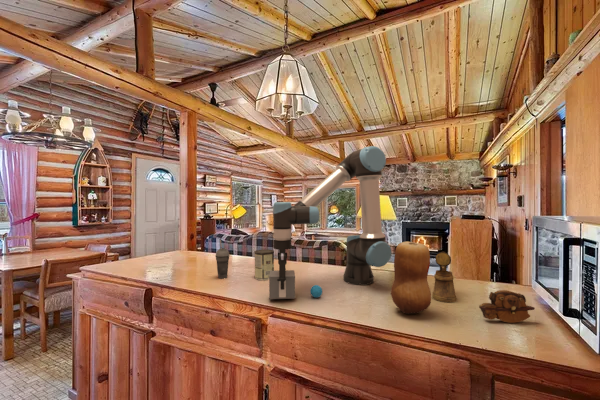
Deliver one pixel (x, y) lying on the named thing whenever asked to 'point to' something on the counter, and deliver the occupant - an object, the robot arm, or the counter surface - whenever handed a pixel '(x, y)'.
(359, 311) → the counter surface
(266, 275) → the coffee can
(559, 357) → the counter surface
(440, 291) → the brown pawn shape
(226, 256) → the beverage cup
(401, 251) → the butternut squash
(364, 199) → the robot arm
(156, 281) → the counter surface
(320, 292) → the ball
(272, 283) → the grey cubic block
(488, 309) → the wooden carving
